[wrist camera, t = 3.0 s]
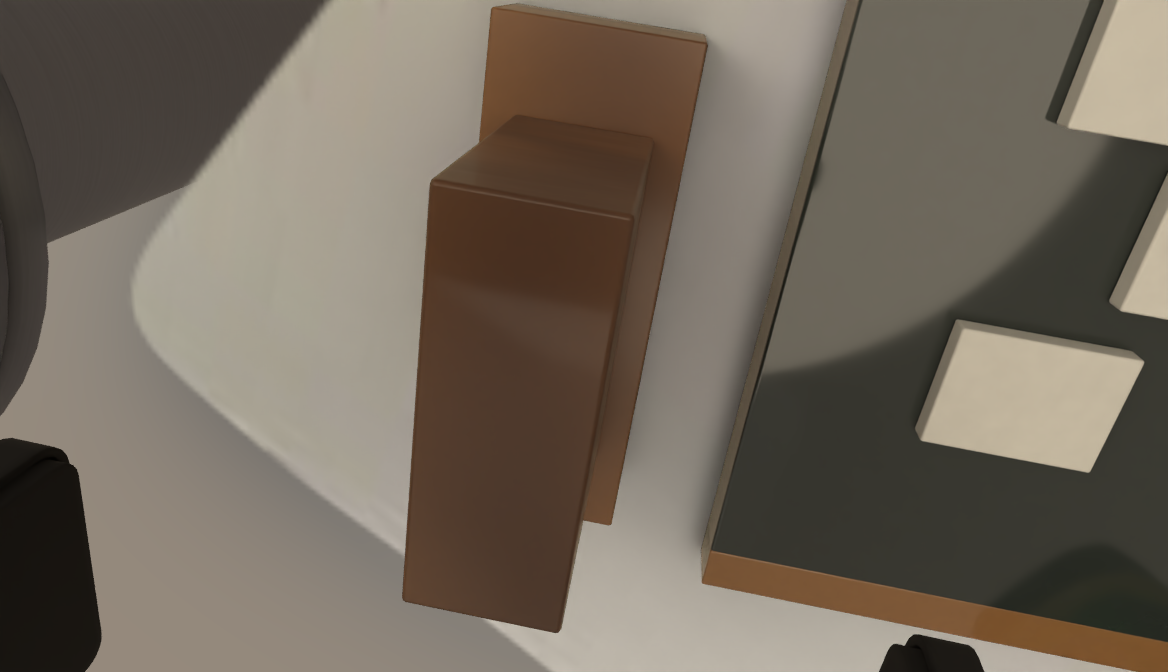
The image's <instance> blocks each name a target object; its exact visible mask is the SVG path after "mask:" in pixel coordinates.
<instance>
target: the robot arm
mask: <svg viewBox="0 0 1168 672" xmlns="http://www.w3.org/2000/svg"><path fill="white" fill-rule="evenodd" d="M100 643H101V626H100V620H99V612H98V606H97V599H96V592H95V585H94V578H93V571H92V564H91V557H90V550H89V543H88V536H87V531H86V523H85V516H84V509H83V502H82V495H81V488H80V482H79V475H78V472H77V469H76V468H75V467H74V466H73V465H71V464H70V463H69V460H68V457H67V455H66V454H65V453H64V452H63V451H62V450H61V449H58V448H55V447H51V446H46V445H42V444H37V443H33V442H28V441H23V440H18V439H14V438H8V439H2V440H0V672H85V671H86V670H87V669H88V667H89V666H90V664H91V663H92V662H93V660H94V658H95V656H96V655H97V652H98V650H99V647H100ZM879 672H984V670H983V667H982V665H981V662H980V660H979V657H978V656H977V654H976V652H975V650H974V649H973V648H972V647H970V646H969V645H965V644H960V643H956V642H951V641H946V640H942V639H937V638H932V637H928V636H923V635H917V634H914V635H913V636H911V637H910V638H909V639H908V641H907V643H906V645H905V646H903V645H899V644H893V645H892V646H891V647H890V648H889V650H888V652H887V654H886V656H885V659H884V661H883V664H882V666H881V668H880V671H879Z"/></svg>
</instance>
